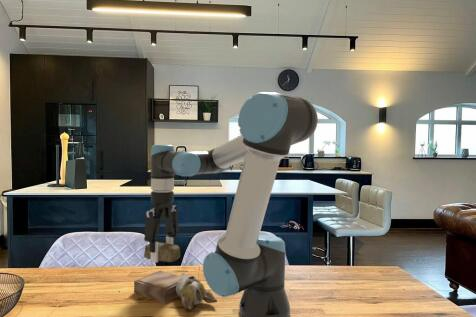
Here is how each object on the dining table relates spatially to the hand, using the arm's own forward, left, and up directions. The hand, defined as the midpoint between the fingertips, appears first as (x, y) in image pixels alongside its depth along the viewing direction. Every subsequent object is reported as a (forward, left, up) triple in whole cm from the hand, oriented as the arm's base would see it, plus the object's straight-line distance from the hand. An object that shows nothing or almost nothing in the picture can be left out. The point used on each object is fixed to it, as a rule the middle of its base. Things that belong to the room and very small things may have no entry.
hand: (162, 258), depth 120 cm
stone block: (0, 0, 0) cm, 0 cm away
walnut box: (0, 0, -11) cm, 11 cm away
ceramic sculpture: (-14, +1, -12) cm, 18 cm away
